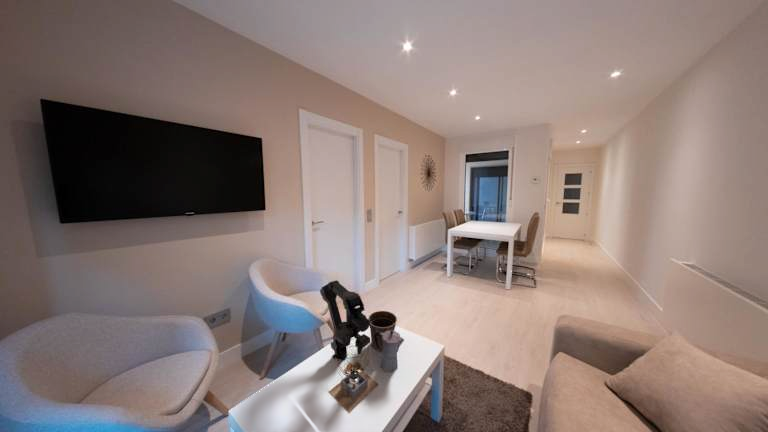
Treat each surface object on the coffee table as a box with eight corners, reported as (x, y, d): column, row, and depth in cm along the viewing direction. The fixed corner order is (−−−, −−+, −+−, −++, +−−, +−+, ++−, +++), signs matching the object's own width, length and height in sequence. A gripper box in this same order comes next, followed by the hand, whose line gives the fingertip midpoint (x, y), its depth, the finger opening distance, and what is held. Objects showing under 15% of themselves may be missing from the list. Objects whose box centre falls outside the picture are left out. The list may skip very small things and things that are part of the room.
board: (328, 393, 102) (328, 391, 102) (358, 368, 116) (358, 367, 116) (349, 415, 93) (349, 413, 93) (379, 385, 107) (379, 384, 106)
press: (338, 390, 103) (338, 382, 102) (355, 376, 110) (355, 369, 109) (351, 402, 98) (351, 394, 97) (367, 387, 105) (367, 379, 104)
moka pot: (402, 377, 111) (403, 339, 108) (370, 371, 114) (371, 335, 111) (404, 362, 120) (405, 327, 117) (375, 357, 123) (375, 323, 120)
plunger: (344, 387, 104) (344, 373, 103) (354, 378, 108) (354, 365, 107) (353, 395, 100) (353, 381, 99) (363, 386, 104) (363, 372, 103)
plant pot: (370, 333, 142) (371, 309, 140) (397, 336, 140) (398, 311, 137) (365, 352, 126) (365, 326, 124) (394, 356, 124) (395, 329, 122)
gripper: (326, 319, 110) (327, 349, 112) (352, 338, 97) (352, 370, 100) (344, 310, 118) (345, 337, 120) (371, 325, 106) (370, 356, 108)
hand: (352, 349), depth 112 cm, fingers open, 9 cm apart
